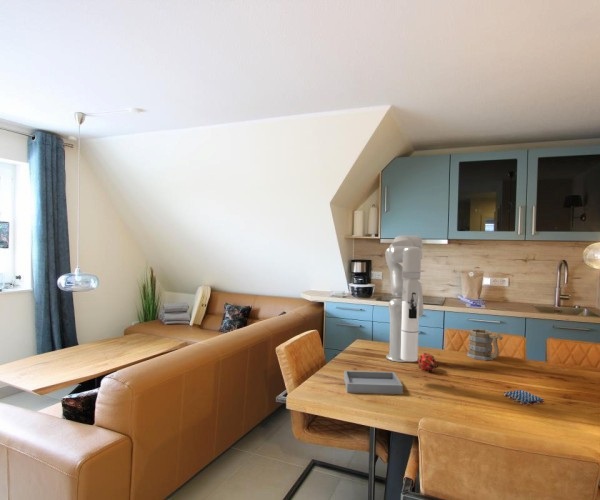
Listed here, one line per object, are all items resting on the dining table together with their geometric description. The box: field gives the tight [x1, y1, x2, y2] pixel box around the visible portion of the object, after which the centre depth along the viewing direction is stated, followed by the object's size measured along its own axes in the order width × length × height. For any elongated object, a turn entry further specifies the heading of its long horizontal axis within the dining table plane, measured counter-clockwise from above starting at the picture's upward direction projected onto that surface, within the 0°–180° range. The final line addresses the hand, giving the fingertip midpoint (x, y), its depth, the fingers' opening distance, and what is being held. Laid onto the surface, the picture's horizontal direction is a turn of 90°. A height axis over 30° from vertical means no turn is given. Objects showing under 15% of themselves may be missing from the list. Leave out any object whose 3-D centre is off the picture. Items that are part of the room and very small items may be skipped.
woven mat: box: [503, 389, 545, 406], centre depth 151 cm, size 10×11×2 cm
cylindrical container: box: [401, 301, 420, 362], centre depth 167 cm, size 7×7×25 cm
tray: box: [343, 370, 404, 395], centre depth 162 cm, size 16×22×4 cm
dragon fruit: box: [417, 352, 440, 373], centre depth 183 cm, size 8×8×12 cm
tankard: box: [466, 328, 504, 361], centre depth 204 cm, size 20×13×15 cm, turn 17°
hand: (410, 316), depth 167 cm, fingers closed on cylindrical container, 7 cm apart
